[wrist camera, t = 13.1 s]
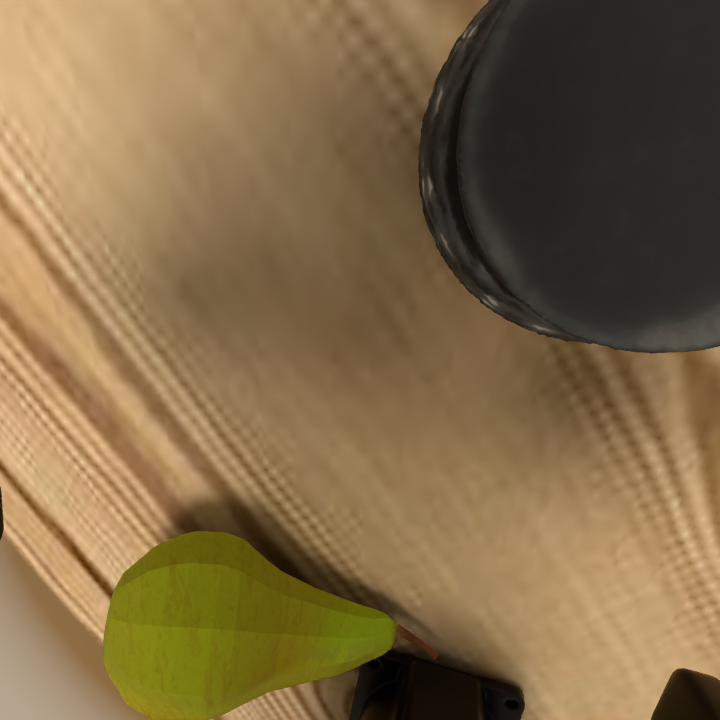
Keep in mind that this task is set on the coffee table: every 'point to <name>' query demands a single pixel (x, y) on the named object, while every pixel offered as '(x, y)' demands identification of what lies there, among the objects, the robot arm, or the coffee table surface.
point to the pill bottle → (583, 169)
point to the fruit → (228, 629)
